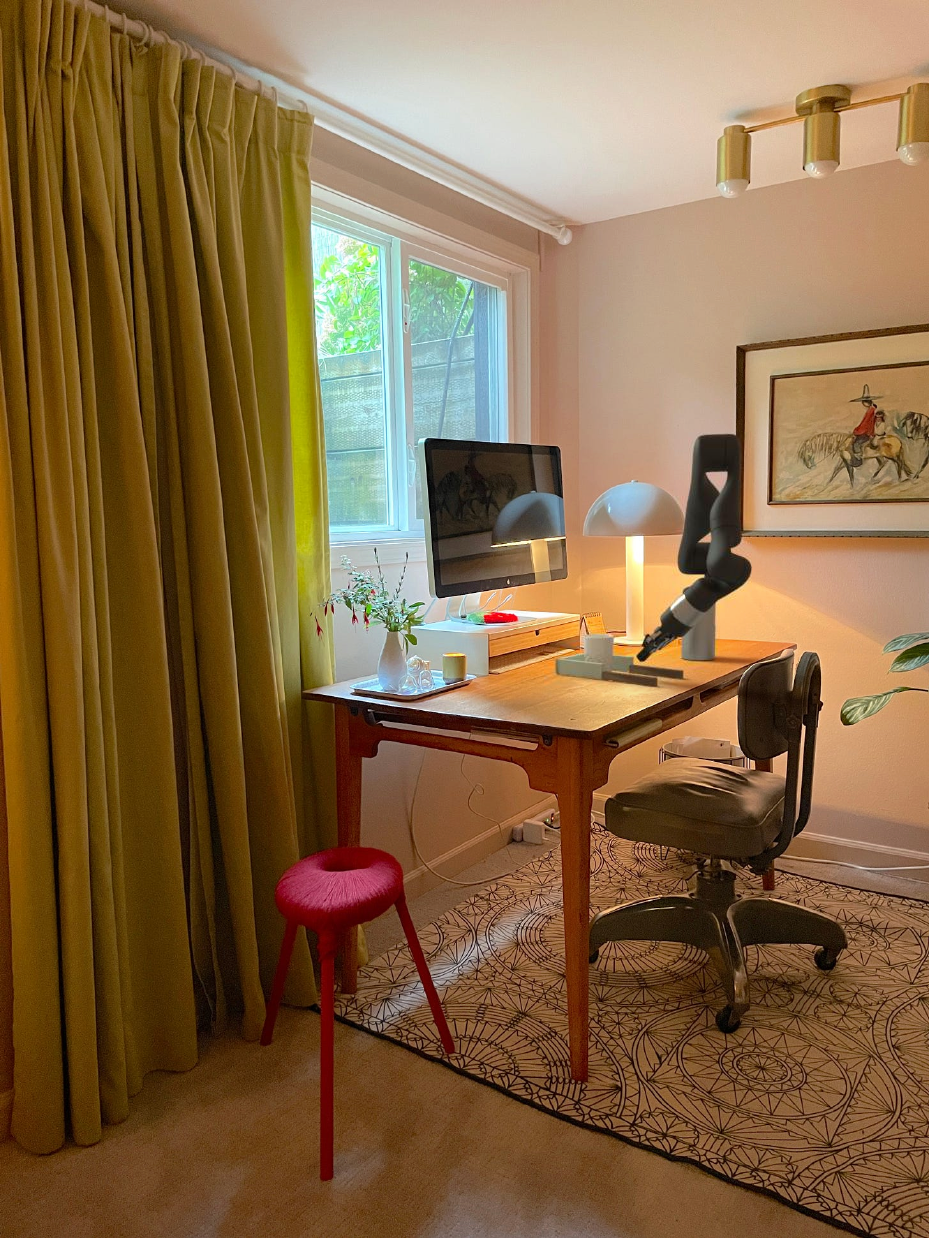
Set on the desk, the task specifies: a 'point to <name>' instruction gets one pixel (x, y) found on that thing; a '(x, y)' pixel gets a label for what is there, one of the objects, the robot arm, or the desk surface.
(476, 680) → the desk surface
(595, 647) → the white cup
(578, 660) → the tray
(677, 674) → the channel
